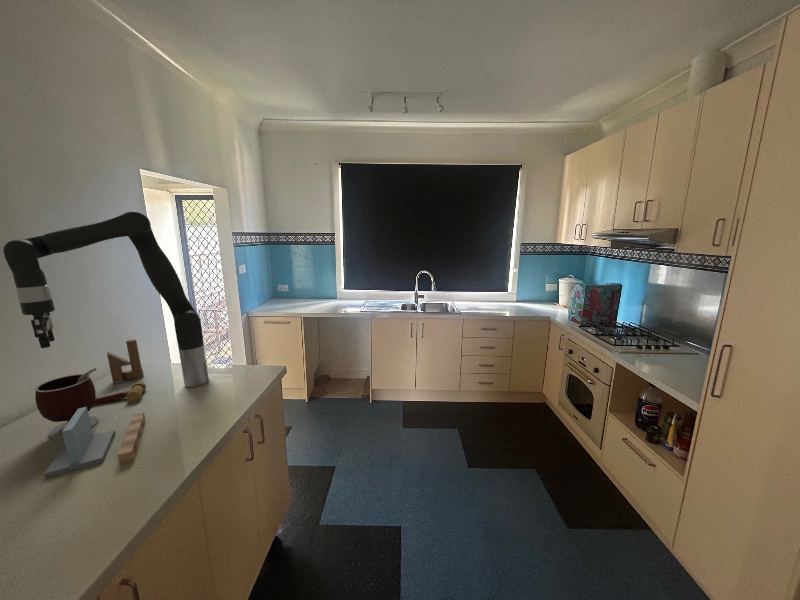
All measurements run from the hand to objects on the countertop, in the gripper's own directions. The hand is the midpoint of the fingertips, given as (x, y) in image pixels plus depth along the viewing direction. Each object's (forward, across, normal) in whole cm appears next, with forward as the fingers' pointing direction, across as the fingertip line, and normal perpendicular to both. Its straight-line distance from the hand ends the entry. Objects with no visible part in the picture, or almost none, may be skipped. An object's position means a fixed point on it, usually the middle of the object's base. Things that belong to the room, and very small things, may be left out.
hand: (48, 344), depth 113 cm
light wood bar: (+28, -35, -19) cm, 49 cm away
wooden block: (+28, +24, -18) cm, 41 cm away
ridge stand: (+28, -34, -7) cm, 44 cm away
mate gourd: (+28, -13, -4) cm, 31 cm away
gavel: (+29, +3, -12) cm, 31 cm away
